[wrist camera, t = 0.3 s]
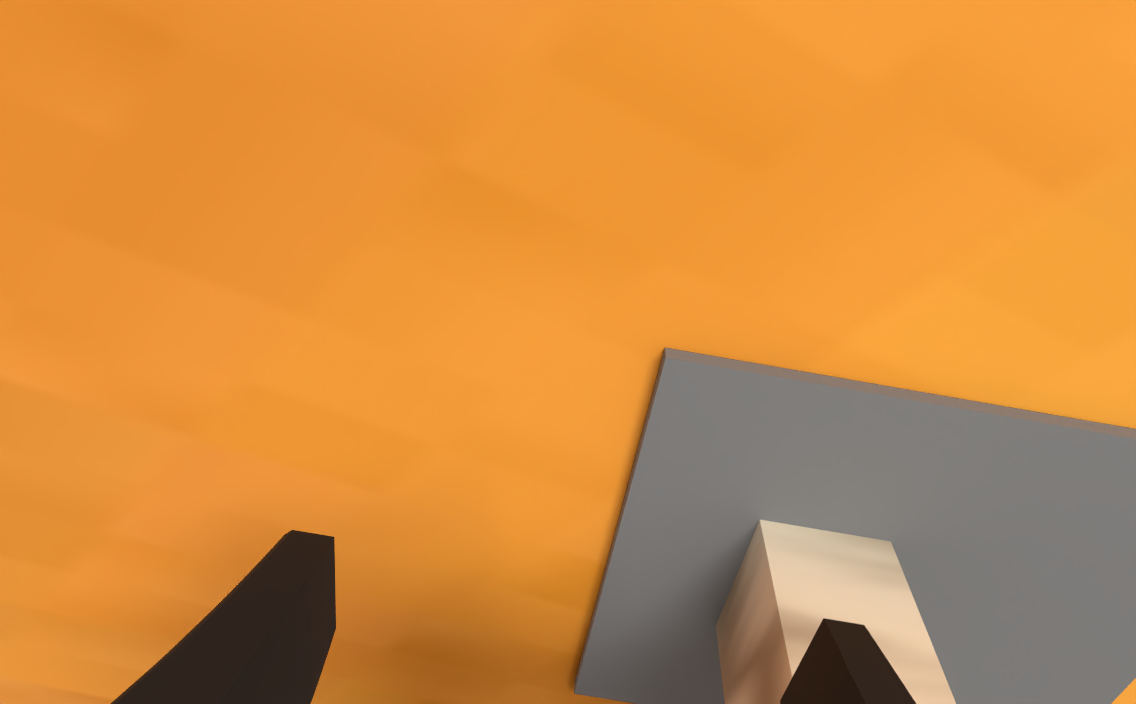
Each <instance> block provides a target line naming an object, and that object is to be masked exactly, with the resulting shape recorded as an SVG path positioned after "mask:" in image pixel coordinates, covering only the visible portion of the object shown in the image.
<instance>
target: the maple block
mask: <svg viewBox="0 0 1136 704" xmlns="http://www.w3.org/2000/svg"><path fill="white" fill-rule="evenodd" d="M823 618H825V619H831V620H837V621H844V622H850V623H856V624H862V625H865V627H866V628H867V630H868V631H869V633H870V634H871V636H872V637H873V639H874V640H875V642H876V643H877V645H878V646H879V648H880V649H881V651H882V652H883V654H884V655H885V657H886V658H887V660H888V661H889V663H890V664H891V666H892V667H893V669H894V670H895V672H896V673H897V675H898V676H899V678H900V679H901V681H902V682H903V684H904V685H905V687H906V689H907V690H908V692H909V693H910V695H911V696H912V698H913V699H914V701H915V702H916V704H956V702H955V700H954V697H953V695H952V692H951V690H950V687H949V685H948V682H947V680H946V677H945V675H944V672H943V670H942V667H941V665H940V662H939V660H938V657H937V655H936V652H935V650H934V647H933V645H932V642H931V640H930V637H929V635H928V633H927V630H926V628H925V625H924V623H923V620H922V618H921V615H920V613H919V610H918V608H917V605H916V603H915V600H914V598H913V595H912V593H911V590H910V588H909V585H908V583H907V580H906V578H905V575H904V573H903V570H902V568H901V566H900V563H899V561H898V558H897V556H896V553H895V551H894V548H893V546H892V543H891V542H890V541H885V540H879V539H873V538H867V537H861V536H855V535H849V534H843V533H837V532H831V531H825V530H819V529H813V528H807V527H801V526H795V525H790V524H784V523H778V522H772V521H766V520H759V523H758V525H757V527H756V530H755V532H754V535H753V537H752V539H751V542H750V544H749V547H748V549H747V551H746V554H745V556H744V559H743V561H742V563H741V566H740V568H739V571H738V573H737V576H736V578H735V580H734V583H733V585H732V588H731V590H730V592H729V595H728V597H727V600H726V602H725V604H724V607H723V609H722V612H721V614H720V616H719V619H718V621H717V624H716V633H717V641H718V650H719V658H720V667H721V676H722V684H723V693H724V701H725V704H780V700H781V698H782V696H783V694H784V692H785V690H786V688H787V686H788V685H789V683H790V681H791V679H792V677H793V675H794V673H795V671H796V669H797V667H798V666H799V664H800V662H801V660H802V658H803V656H804V654H805V652H806V650H807V648H808V647H809V645H810V643H811V641H812V639H813V637H814V635H815V633H816V631H817V629H818V628H819V626H820V624H821V622H822V620H823Z"/></svg>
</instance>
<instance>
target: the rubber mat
mask: <svg viewBox="0 0 1136 704" xmlns="http://www.w3.org/2000/svg"><path fill="white" fill-rule="evenodd" d="M759 520H766V521H772V522H778V523H784V524H790V525H795V526H801V527H807V528H813V529H819V530H825V531H831V532H837V533H843V534H849V535H855V536H861V537H867V538H873V539H879V540H885V541H890V542H891V543H892V546H893V548H894V551H895V553H896V556H897V558H898V561H899V563H900V566H901V568H902V570H903V573H904V575H905V578H906V580H907V583H908V585H909V588H910V590H911V593H912V595H913V598H914V600H915V603H916V605H917V608H918V610H919V613H920V615H921V618H922V620H923V623H924V625H925V628H926V630H927V633H928V635H929V637H930V640H931V642H932V645H933V647H934V650H935V652H936V655H937V657H938V660H939V662H940V665H941V667H942V670H943V672H944V675H945V677H946V680H947V682H948V685H949V687H950V690H951V692H952V695H953V697H954V700H955V702H956V704H1111V703H1112V702H1113V701H1114V700H1115V699H1116V698H1117V697H1118V696H1119V695H1120V694H1121V693H1122V692H1123V691H1124V689H1125V688H1126V687H1127V686H1128V685H1129V684H1130V683H1131V682H1132V681H1133V680H1134V679H1135V678H1136V429H1132V428H1126V427H1121V426H1115V425H1109V424H1103V423H1097V422H1092V421H1086V420H1080V419H1074V418H1069V417H1063V416H1057V415H1051V414H1045V413H1040V412H1034V411H1028V410H1022V409H1017V408H1011V407H1005V406H999V405H993V404H988V403H982V402H976V401H970V400H965V399H959V398H953V397H947V396H941V395H936V394H930V393H924V392H918V391H912V390H907V389H901V388H895V387H889V386H884V385H878V384H872V383H866V382H860V381H855V380H849V379H843V378H837V377H832V376H826V375H820V374H814V373H808V372H803V371H797V370H791V369H785V368H780V367H774V366H768V365H762V364H756V363H751V362H745V361H739V360H733V359H727V358H722V357H716V356H710V355H704V354H699V353H693V352H687V351H681V350H675V349H670V348H665V350H664V353H663V357H662V361H661V365H660V368H659V372H658V376H657V379H656V383H655V387H654V390H653V394H652V398H651V402H650V405H649V409H648V413H647V416H646V420H645V424H644V427H643V431H642V435H641V439H640V442H639V446H638V450H637V453H636V457H635V461H634V465H633V468H632V472H631V476H630V479H629V483H628V487H627V490H626V494H625V498H624V502H623V505H622V509H621V513H620V516H619V520H618V524H617V527H616V531H615V535H614V539H613V542H612V546H611V550H610V553H609V557H608V561H607V564H606V568H605V572H604V576H603V579H602V583H601V587H600V590H599V594H598V598H597V601H596V605H595V609H594V613H593V616H592V620H591V624H590V627H589V631H588V635H587V638H586V642H585V646H584V650H583V653H582V657H581V661H580V664H579V668H578V672H577V675H576V679H575V687H574V694H580V695H586V696H592V697H599V698H605V699H611V700H617V701H623V702H629V703H636V704H725V701H724V693H723V684H722V676H721V667H720V658H719V650H718V641H717V633H716V624H717V621H718V619H719V616H720V614H721V612H722V609H723V607H724V604H725V602H726V600H727V597H728V595H729V592H730V590H731V588H732V585H733V583H734V580H735V578H736V576H737V573H738V571H739V568H740V566H741V563H742V561H743V559H744V556H745V554H746V551H747V549H748V547H749V544H750V542H751V539H752V537H753V535H754V532H755V530H756V527H757V525H758V523H759Z"/></svg>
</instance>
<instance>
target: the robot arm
mask: <svg viewBox="0 0 1136 704" xmlns="http://www.w3.org/2000/svg"><path fill="white" fill-rule="evenodd" d="M335 629H336V607H335V553H334V537H331V536H325V535H319V534H313V533H307V532H301V531H295V530H292V531H290V532H288V533H287V534H285V535H284V536H283V537H282V538H281V539H280V540H279V542H278V543H277V544H276V545H275V546H274V547H273V548H272V549H271V550H270V551H269V552H268V553H267V555H266V556H265V557H264V558H263V559H262V560H261V561H260V562H259V563H258V564H257V565H256V566H255V567H254V568H253V569H252V570H251V572H250V573H249V574H248V575H247V576H246V577H245V578H244V579H243V580H242V581H241V582H240V583H239V584H238V585H237V586H236V587H235V588H234V589H233V590H232V591H231V592H230V593H229V594H228V595H227V596H226V597H225V598H224V599H223V600H222V601H221V602H220V603H219V604H218V605H217V606H216V607H215V608H214V609H213V610H212V611H211V612H210V613H209V614H208V615H207V616H206V617H205V618H204V619H203V620H202V621H201V622H200V623H199V624H198V625H196V626H195V627H194V628H193V629H192V630H191V631H190V632H189V633H188V634H187V635H186V636H185V637H184V638H183V639H182V640H181V641H180V642H179V643H178V644H177V645H176V646H175V647H174V648H172V649H171V650H170V651H169V652H168V653H167V654H166V655H165V656H164V657H163V658H162V659H161V660H160V661H158V662H157V663H156V664H155V665H154V666H153V667H152V668H151V669H150V670H148V671H147V672H146V673H145V674H144V675H143V676H142V677H140V678H139V679H138V680H137V681H136V682H135V683H134V684H132V685H131V686H130V687H129V688H128V689H127V690H126V691H125V692H123V693H122V694H121V695H120V696H119V697H118V698H117V699H115V700H114V701H113V702H112V703H111V704H310V703H311V701H312V698H313V695H314V692H315V689H316V687H317V684H318V681H319V678H320V675H321V672H322V669H323V666H324V663H325V660H326V657H327V654H328V651H329V648H330V645H331V642H332V639H333V636H334V632H335ZM780 704H916V702H915V701H914V699H913V698H912V696H911V695H910V693H909V692H908V690H907V689H906V687H905V685H904V684H903V682H902V681H901V679H900V678H899V676H898V675H897V673H896V672H895V670H894V669H893V667H892V666H891V664H890V663H889V661H888V660H887V658H886V657H885V655H884V654H883V652H882V651H881V649H880V648H879V646H878V645H877V643H876V642H875V640H874V639H873V637H872V636H871V634H870V633H869V631H868V630H867V628H866V627H865V625H862V624H856V623H850V622H844V621H837V620H831V619H825V618H823V620H822V622H821V624H820V626H819V628H818V629H817V631H816V633H815V635H814V637H813V639H812V641H811V643H810V645H809V647H808V648H807V650H806V652H805V654H804V656H803V658H802V660H801V662H800V664H799V666H798V667H797V669H796V671H795V673H794V675H793V677H792V679H791V681H790V683H789V685H788V686H787V688H786V690H785V692H784V694H783V696H782V698H781V700H780Z"/></svg>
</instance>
